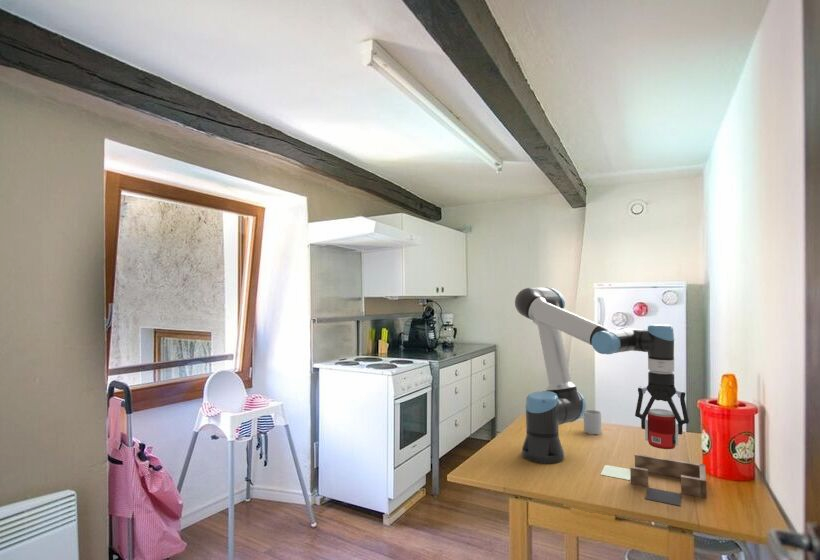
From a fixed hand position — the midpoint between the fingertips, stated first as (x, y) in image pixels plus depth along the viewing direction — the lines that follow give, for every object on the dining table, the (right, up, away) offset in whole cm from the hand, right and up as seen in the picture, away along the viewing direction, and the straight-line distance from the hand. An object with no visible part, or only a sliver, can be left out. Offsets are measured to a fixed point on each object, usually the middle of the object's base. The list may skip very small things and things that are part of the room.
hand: (661, 441), depth 149 cm
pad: (-12, -13, +7) cm, 19 cm away
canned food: (0, -2, 0) cm, 2 cm away
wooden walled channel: (+1, -13, -1) cm, 13 cm away
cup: (-1, -15, +52) cm, 54 cm away
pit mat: (-6, -12, -12) cm, 18 cm away
